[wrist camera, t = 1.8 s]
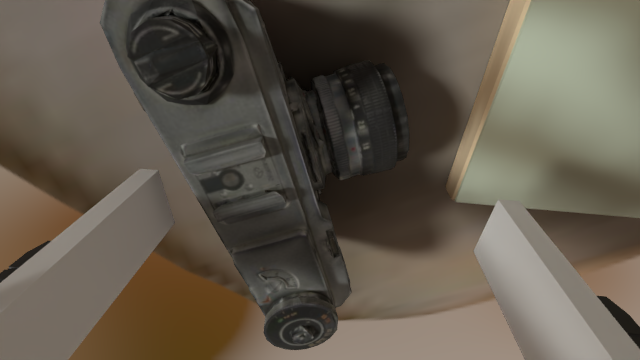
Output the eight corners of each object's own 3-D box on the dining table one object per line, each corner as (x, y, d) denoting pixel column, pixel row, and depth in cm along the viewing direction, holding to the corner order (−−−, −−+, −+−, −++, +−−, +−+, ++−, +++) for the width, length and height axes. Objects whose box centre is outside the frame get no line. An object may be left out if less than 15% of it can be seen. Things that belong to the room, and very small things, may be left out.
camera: (390, 209, 23) (455, 326, 15) (281, 240, 23) (282, 373, 15) (344, -69, 14) (447, -194, 5) (165, -11, 14) (-11, -42, 6)
